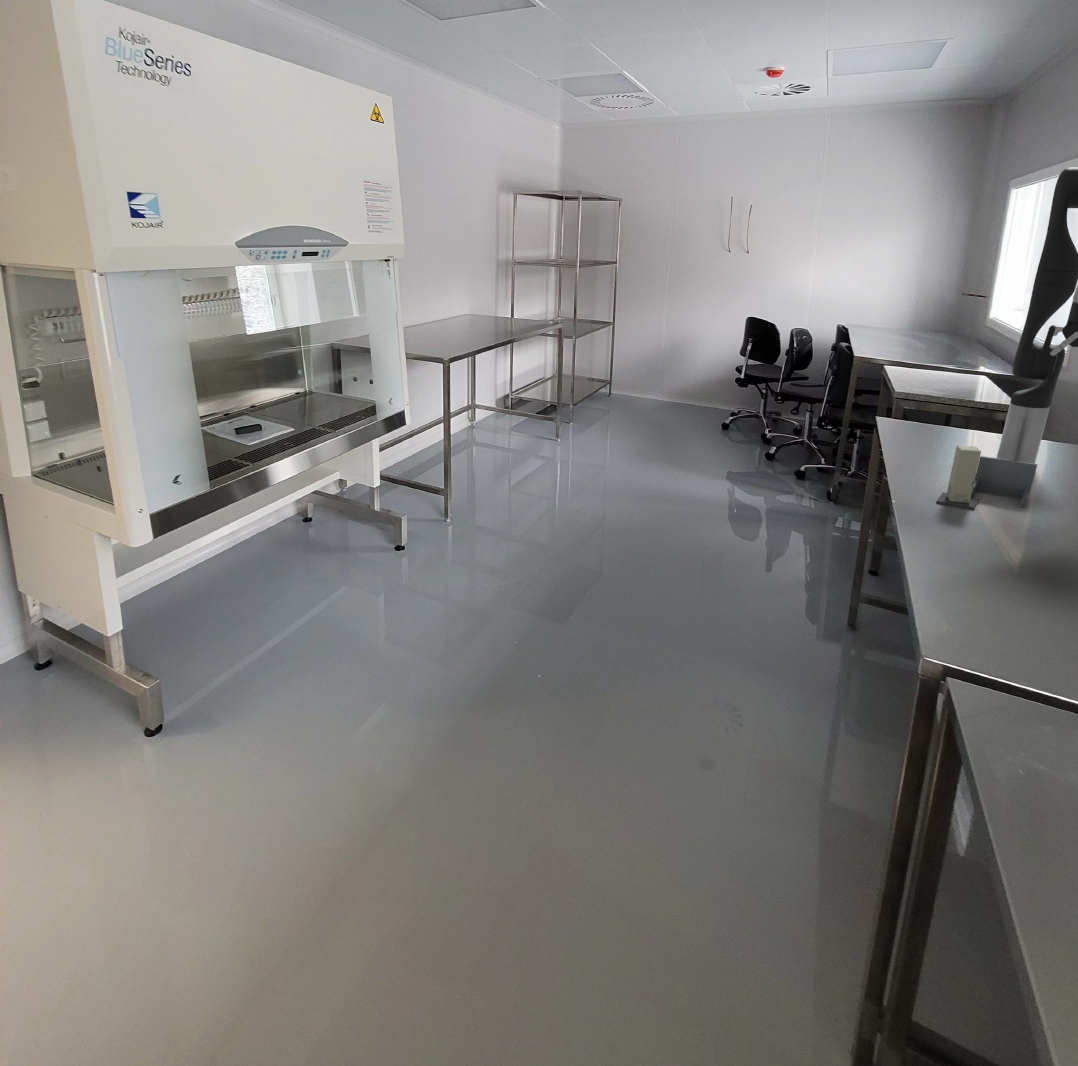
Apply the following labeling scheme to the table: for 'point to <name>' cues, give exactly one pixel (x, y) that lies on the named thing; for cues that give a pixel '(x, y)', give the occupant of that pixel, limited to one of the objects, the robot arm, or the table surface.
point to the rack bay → (1004, 478)
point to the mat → (945, 501)
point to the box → (963, 473)
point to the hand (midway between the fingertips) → (1073, 373)
